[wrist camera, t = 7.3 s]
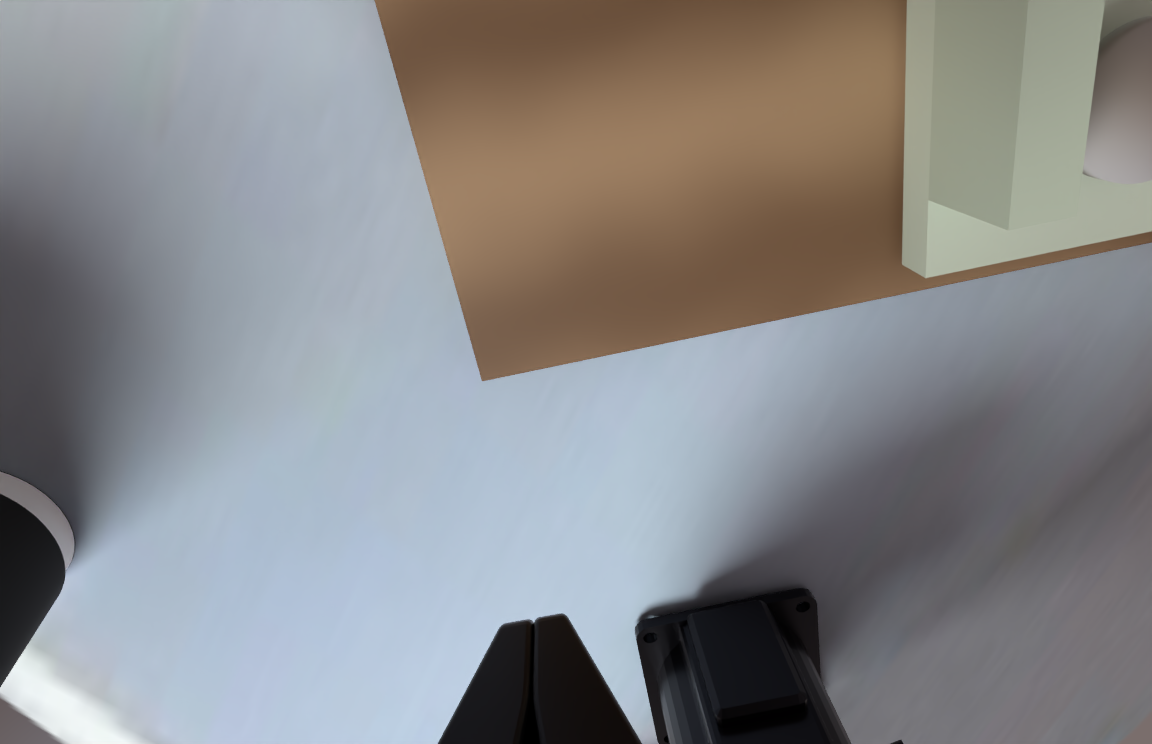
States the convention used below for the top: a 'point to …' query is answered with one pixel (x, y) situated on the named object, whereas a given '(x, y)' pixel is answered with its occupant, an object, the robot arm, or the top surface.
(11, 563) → the dixie cup
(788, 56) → the walnut board
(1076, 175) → the sage panel
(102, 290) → the top surface
